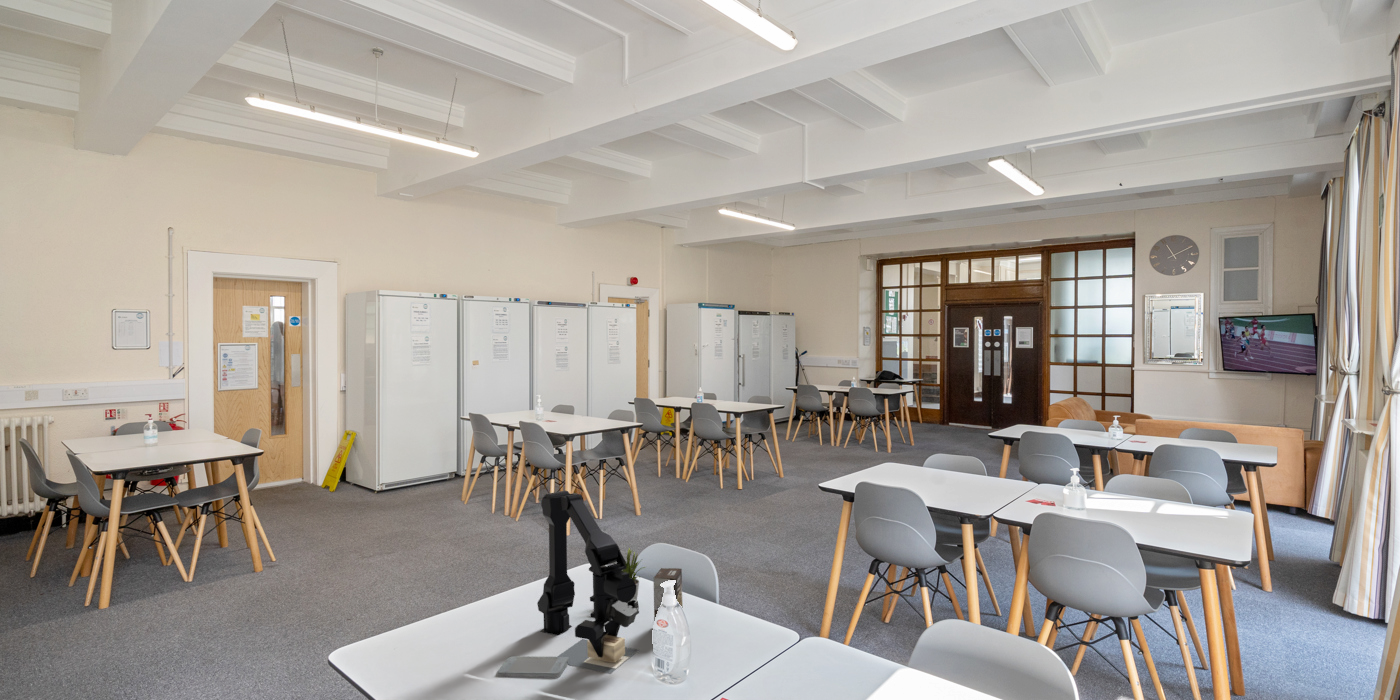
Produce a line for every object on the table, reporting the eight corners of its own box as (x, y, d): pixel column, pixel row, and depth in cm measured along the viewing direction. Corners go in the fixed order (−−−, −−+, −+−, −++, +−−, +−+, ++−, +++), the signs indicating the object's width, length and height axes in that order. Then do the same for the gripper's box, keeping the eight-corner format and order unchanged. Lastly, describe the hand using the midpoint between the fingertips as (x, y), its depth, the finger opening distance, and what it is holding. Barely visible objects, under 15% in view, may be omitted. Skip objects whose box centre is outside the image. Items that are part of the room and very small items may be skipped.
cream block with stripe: (625, 653, 172) (624, 637, 172) (614, 662, 168) (614, 645, 168) (598, 648, 176) (598, 632, 176) (587, 656, 171) (587, 640, 171)
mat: (550, 663, 172) (550, 661, 172) (582, 640, 184) (582, 638, 184) (610, 675, 164) (610, 673, 164) (639, 651, 177) (639, 649, 177)
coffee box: (676, 637, 185) (675, 578, 185) (654, 636, 186) (652, 577, 186) (684, 624, 194) (682, 567, 194) (662, 622, 195) (660, 567, 195)
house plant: (605, 593, 220) (603, 543, 219) (647, 590, 221) (646, 541, 221) (603, 610, 205) (602, 557, 205) (649, 607, 207) (647, 554, 207)
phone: (509, 660, 173) (509, 655, 173) (570, 661, 171) (569, 656, 171) (496, 677, 165) (496, 672, 165) (559, 678, 163) (559, 673, 163)
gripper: (611, 609, 160) (613, 675, 160) (650, 583, 177) (651, 642, 177) (572, 602, 164) (574, 666, 164) (613, 578, 181) (615, 636, 181)
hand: (606, 652), depth 172 cm, fingers closed on cream block with stripe, 5 cm apart
